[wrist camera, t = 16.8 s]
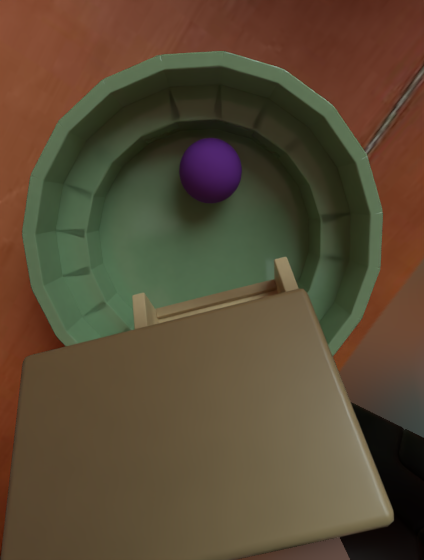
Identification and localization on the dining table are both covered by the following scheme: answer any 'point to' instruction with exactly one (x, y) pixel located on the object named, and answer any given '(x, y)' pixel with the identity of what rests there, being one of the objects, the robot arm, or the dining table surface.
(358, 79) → the dining table surface
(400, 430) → the robot arm
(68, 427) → the scoop
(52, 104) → the dining table surface
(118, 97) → the green bowl
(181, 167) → the ball
